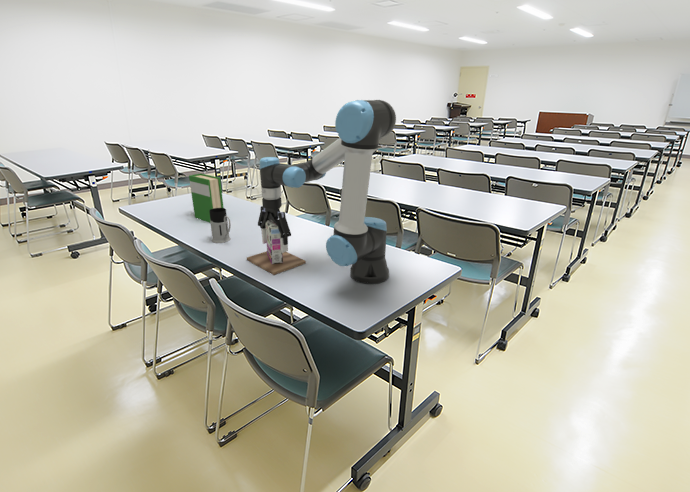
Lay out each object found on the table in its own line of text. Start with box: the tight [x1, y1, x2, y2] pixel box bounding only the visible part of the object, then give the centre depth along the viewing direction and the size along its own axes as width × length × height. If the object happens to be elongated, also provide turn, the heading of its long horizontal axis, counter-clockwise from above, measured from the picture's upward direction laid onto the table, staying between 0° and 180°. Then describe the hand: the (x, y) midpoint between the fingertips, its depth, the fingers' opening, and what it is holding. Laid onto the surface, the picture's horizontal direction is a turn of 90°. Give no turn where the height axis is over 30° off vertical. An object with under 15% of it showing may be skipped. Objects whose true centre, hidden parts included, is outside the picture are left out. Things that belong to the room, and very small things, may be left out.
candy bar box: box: [266, 220, 283, 264], centre depth 160 cm, size 11×5×16 cm, turn 20°
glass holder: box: [209, 208, 231, 244], centre depth 183 cm, size 9×14×15 cm, turn 47°
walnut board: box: [246, 250, 307, 276], centre depth 163 cm, size 20×16×1 cm
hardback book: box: [188, 173, 225, 224], centre depth 213 cm, size 18×7×24 cm, turn 52°
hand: (275, 247), depth 161 cm, fingers open, 13 cm apart
